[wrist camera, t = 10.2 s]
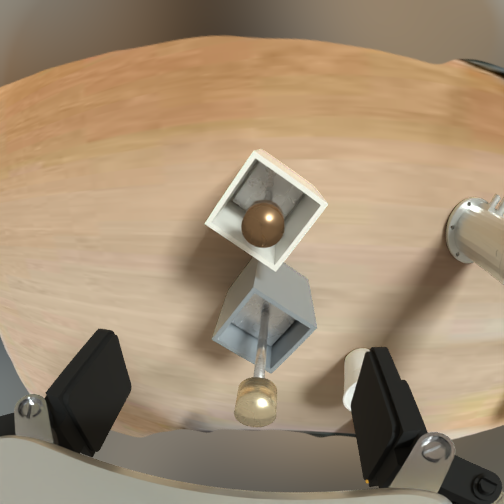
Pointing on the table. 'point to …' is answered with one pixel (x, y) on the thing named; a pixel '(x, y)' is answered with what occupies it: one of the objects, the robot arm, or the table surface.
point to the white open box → (295, 223)
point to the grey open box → (278, 294)
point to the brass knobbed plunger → (259, 361)
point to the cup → (352, 374)
